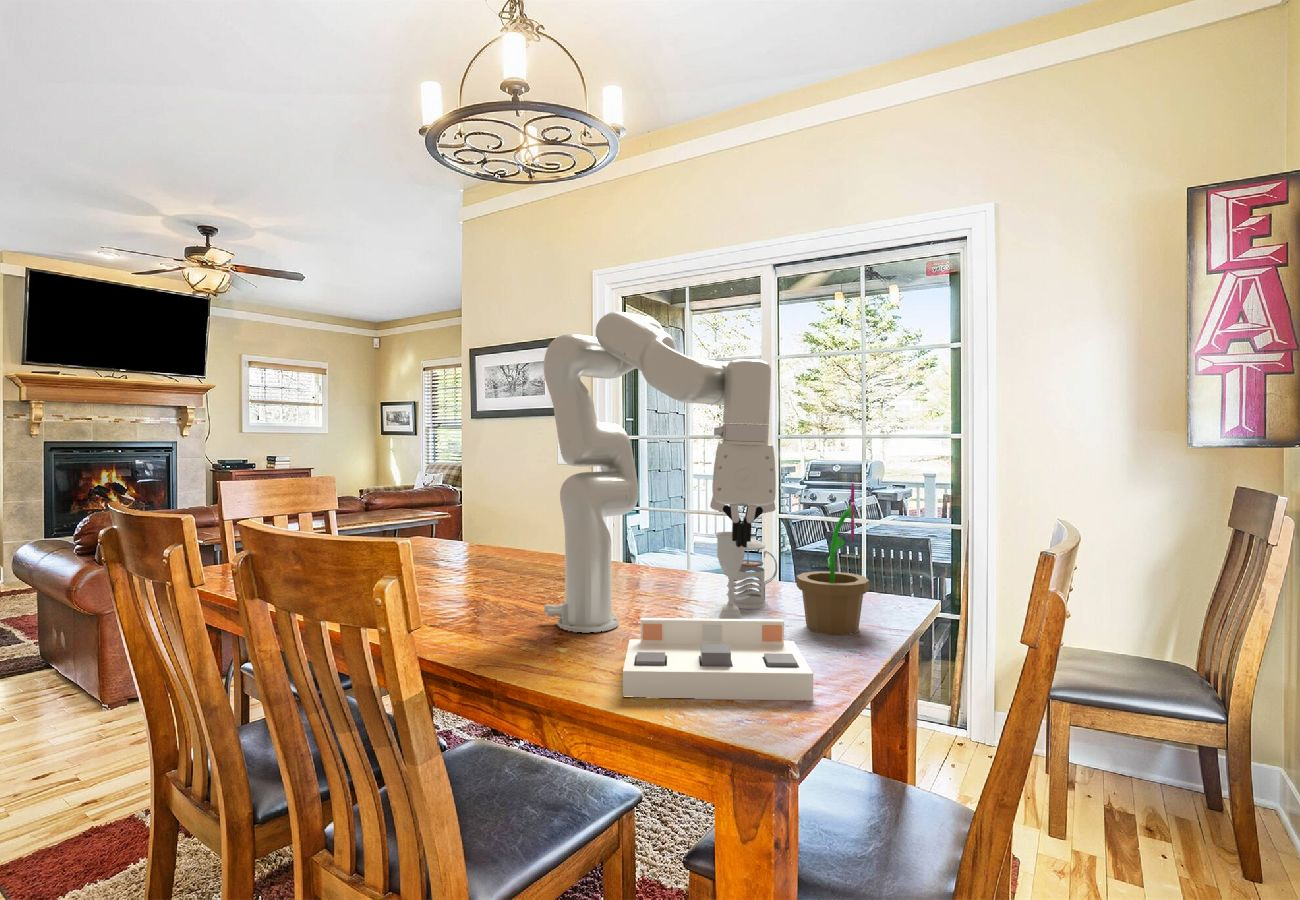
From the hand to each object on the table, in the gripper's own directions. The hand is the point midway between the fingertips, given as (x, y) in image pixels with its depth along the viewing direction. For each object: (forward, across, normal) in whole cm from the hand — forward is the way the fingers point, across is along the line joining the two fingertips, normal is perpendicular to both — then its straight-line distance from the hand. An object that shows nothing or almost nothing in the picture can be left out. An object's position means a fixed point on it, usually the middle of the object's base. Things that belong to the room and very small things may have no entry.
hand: (741, 545), depth 111 cm
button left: (+19, -14, -9) cm, 25 cm away
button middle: (+18, -4, -9) cm, 20 cm away
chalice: (+22, +2, +33) cm, 40 cm away
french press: (+22, +8, +45) cm, 51 cm away
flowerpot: (+21, +22, +26) cm, 40 cm away
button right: (+19, +6, -9) cm, 21 cm away
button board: (+21, -4, -6) cm, 22 cm away
